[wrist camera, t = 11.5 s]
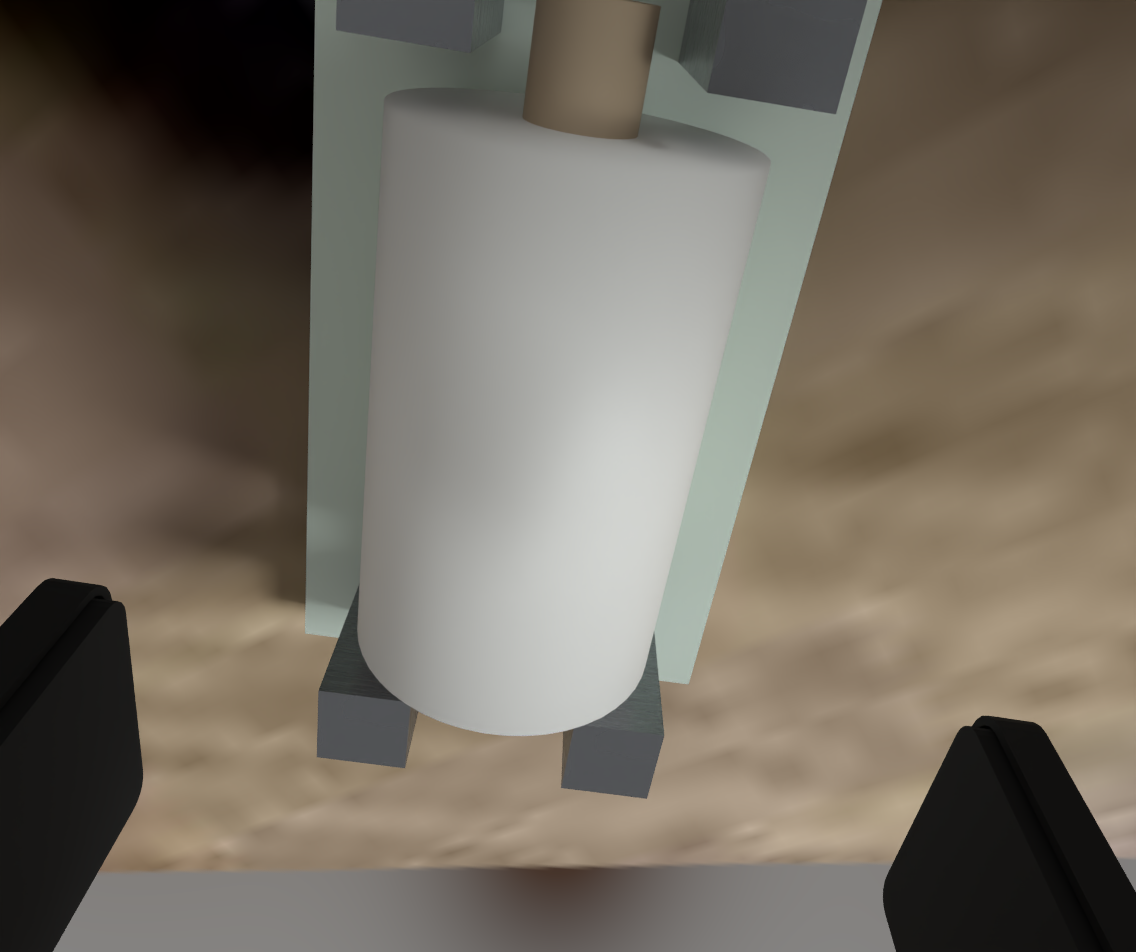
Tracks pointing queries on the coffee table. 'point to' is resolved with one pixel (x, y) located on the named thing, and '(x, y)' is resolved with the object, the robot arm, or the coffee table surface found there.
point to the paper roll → (541, 374)
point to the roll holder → (753, 349)
